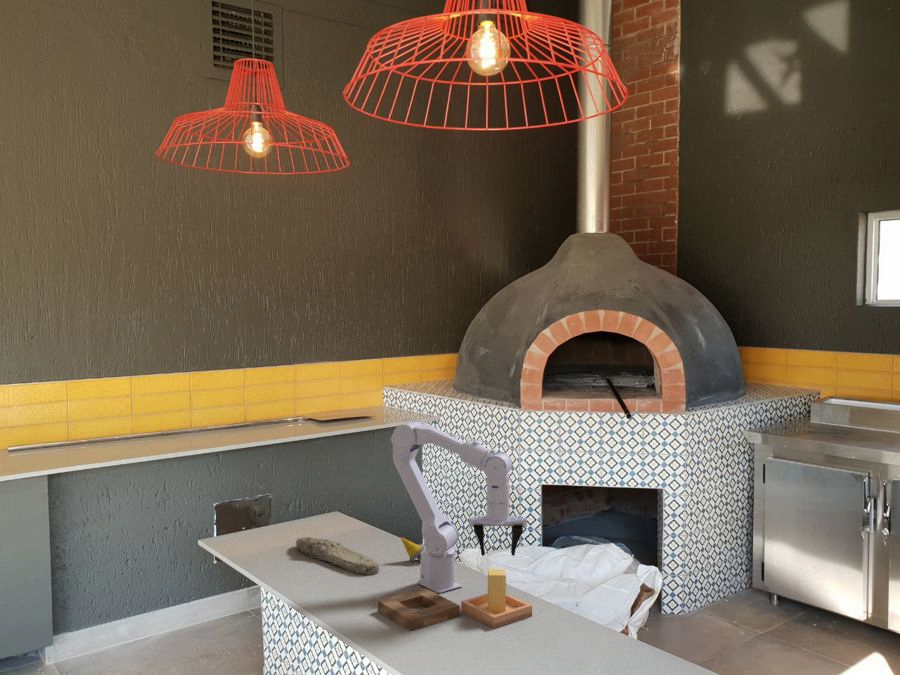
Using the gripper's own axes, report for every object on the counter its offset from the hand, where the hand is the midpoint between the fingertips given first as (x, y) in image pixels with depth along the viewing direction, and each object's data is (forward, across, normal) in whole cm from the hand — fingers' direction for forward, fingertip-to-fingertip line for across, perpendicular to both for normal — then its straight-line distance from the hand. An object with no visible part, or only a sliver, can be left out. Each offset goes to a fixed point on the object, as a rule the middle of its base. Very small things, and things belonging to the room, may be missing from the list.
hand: (497, 554), depth 191 cm
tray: (+10, -1, -12) cm, 16 cm away
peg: (+9, -1, -12) cm, 15 cm away
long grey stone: (+11, -45, +26) cm, 53 cm away
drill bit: (+10, -22, +25) cm, 35 cm away
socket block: (+10, -20, -12) cm, 25 cm away
